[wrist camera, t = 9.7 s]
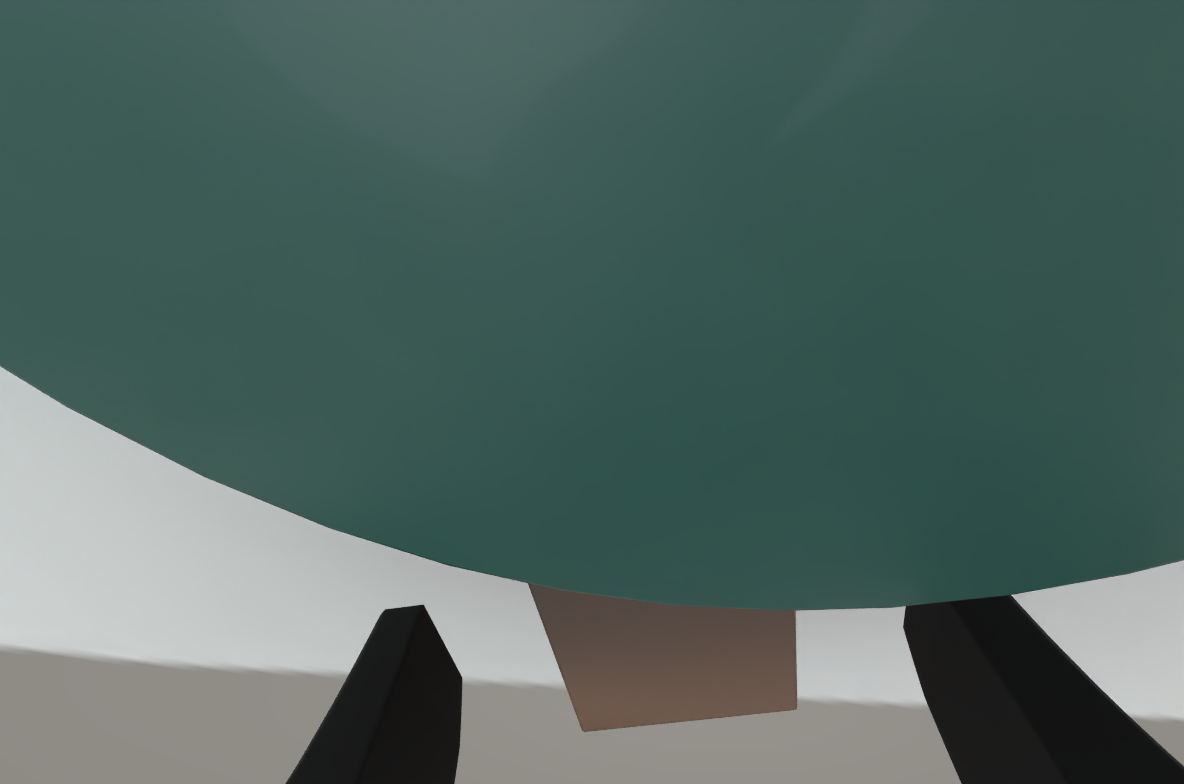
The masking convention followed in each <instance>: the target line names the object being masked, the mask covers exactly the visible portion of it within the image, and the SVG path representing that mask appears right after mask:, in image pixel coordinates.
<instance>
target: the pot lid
mask: <svg viewBox="0 0 1184 784" xmlns="http://www.w3.org/2000/svg"><path fill="white" fill-rule="evenodd" d="M0 366H1V367H2V368H4V369H6V370H7V371H9V372H11V373H12V374H14V375H15V376H17V377H19V378H20V379H22V380H24V381H25V382H27V383H29V384H30V385H32V386H33V387H35V388H37V389H38V390H40V391H42V392H43V393H45V394H47V395H48V396H50V397H51V398H53V399H55V400H56V401H58V402H60V403H61V404H63V405H65V406H66V407H68V408H70V409H72V410H74V411H76V412H78V413H80V414H82V415H84V416H86V417H88V418H90V419H92V420H94V421H96V422H98V423H100V424H102V425H103V426H105V427H107V428H109V429H111V430H113V431H115V432H117V433H119V434H121V435H123V436H125V437H127V438H129V439H131V440H133V441H135V442H137V443H139V444H141V445H143V446H145V447H147V448H149V449H151V450H153V451H155V452H157V453H159V454H161V455H162V456H164V457H166V458H168V459H170V460H172V461H174V462H176V463H178V464H180V465H182V466H184V467H186V468H188V469H190V470H192V471H194V472H196V473H198V474H200V475H202V476H204V477H206V478H209V479H211V480H213V481H216V482H218V483H221V484H223V485H226V486H228V487H231V488H233V489H235V490H238V491H240V492H243V493H245V494H248V495H250V496H253V497H255V498H257V499H260V500H262V501H265V502H267V503H270V504H272V505H274V506H277V507H279V508H282V509H284V510H287V511H289V512H292V513H294V514H296V515H299V516H301V517H304V518H306V519H309V520H311V521H314V522H316V523H318V524H321V525H323V526H326V527H328V528H331V529H334V530H337V531H340V532H344V533H347V534H350V535H353V536H356V537H360V538H363V539H366V540H369V541H372V542H375V543H379V544H382V545H385V546H388V547H391V548H395V549H398V550H401V551H404V552H407V553H411V554H414V555H417V556H420V557H423V558H426V559H430V560H433V561H436V562H439V563H442V564H446V565H449V566H454V567H458V568H463V569H467V570H472V571H476V572H481V573H485V574H490V575H494V576H499V577H503V578H508V579H512V580H517V581H521V582H526V583H530V584H535V585H539V586H544V587H548V588H553V589H557V590H562V591H570V592H577V593H585V594H592V595H599V596H607V597H614V598H622V599H629V600H636V601H644V602H651V603H659V604H666V605H678V606H698V607H717V608H737V609H756V610H775V611H789V610H824V609H859V608H892V607H902V606H911V605H921V604H931V603H940V602H950V601H959V600H969V599H978V598H988V597H997V596H1007V595H1013V594H1018V593H1024V592H1029V591H1035V590H1041V589H1046V588H1052V587H1057V586H1063V585H1069V584H1074V583H1080V582H1085V581H1091V580H1097V579H1102V578H1108V577H1114V576H1119V575H1125V574H1130V573H1134V572H1138V571H1142V570H1146V569H1150V568H1154V567H1158V566H1162V565H1166V564H1170V563H1174V562H1178V561H1182V560H1184V0H0Z"/></svg>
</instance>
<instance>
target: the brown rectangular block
mask: <svg viewBox="0 0 1184 784" xmlns="http://www.w3.org/2000/svg"><path fill="white" fill-rule="evenodd" d="M528 585H529V588H530V590H531V593H532V596H533V598H534V601H535V604H536V607H537V609H538V612H539V615H540V617H541V620H542V623H543V626H544V628H545V631H546V634H547V636H548V639H549V642H550V645H551V647H552V650H553V653H554V655H555V658H556V661H557V664H558V666H559V669H560V672H561V674H562V677H563V680H564V682H565V685H566V688H567V691H568V693H569V696H570V699H571V701H572V704H573V707H574V710H575V712H576V715H577V718H578V720H579V723H580V726H581V728H582V731H584V732H587V731H598V730H607V729H616V728H626V727H635V726H645V725H655V724H665V723H674V722H684V721H693V720H702V719H712V718H722V717H732V716H741V715H751V714H760V713H769V712H779V711H789V710H795V709H796V708H797V664H796V610H789V611H775V610H756V609H737V608H717V607H698V606H678V605H666V604H659V603H651V602H644V601H636V600H629V599H622V598H614V597H607V596H599V595H592V594H585V593H577V592H570V591H562V590H557V589H553V588H548V587H544V586H539V585H535V584H530V583H528Z"/></svg>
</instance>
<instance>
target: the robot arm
mask: <svg viewBox="0 0 1184 784" xmlns="http://www.w3.org/2000/svg"><path fill="white" fill-rule="evenodd" d="M903 628H904V631H905V635H906V638H907V641H908V645H909V648H910V651H911V655H912V658H913V661H914V665H915V668H916V671H917V674H918V677H919V681H920V684H921V687H922V690H923V693H924V696H925V699H926V701H927V704H928V706H929V709H930V711H931V713H932V715H933V718H934V720H935V723H936V725H937V728H938V730H939V732H940V735H941V737H942V739H943V742H944V744H945V746H946V749H947V751H948V753H949V756H950V758H951V760H952V763H953V765H954V767H955V770H956V772H957V774H958V776H959V779H960V781H961V783H962V784H1184V766H1183V765H1182V764H1180V763H1179V762H1178V761H1177V760H1176V759H1175V758H1174V757H1173V756H1171V754H1169V753H1168V752H1167V751H1166V750H1165V749H1164V748H1163V747H1162V746H1161V745H1160V744H1158V743H1157V742H1156V741H1155V740H1154V739H1153V738H1152V737H1151V736H1150V735H1149V734H1148V733H1147V732H1145V731H1144V730H1143V729H1142V728H1141V727H1140V726H1139V725H1138V724H1137V723H1136V722H1135V721H1134V720H1133V719H1132V718H1131V717H1129V716H1128V715H1127V714H1126V713H1125V712H1124V711H1123V710H1122V709H1121V708H1120V707H1119V706H1118V705H1117V704H1116V703H1115V702H1114V701H1113V700H1112V699H1111V698H1110V697H1109V696H1108V695H1107V694H1106V693H1104V692H1103V691H1102V690H1101V689H1100V688H1099V687H1098V686H1097V685H1096V684H1095V683H1094V682H1093V681H1092V680H1091V679H1090V678H1089V677H1088V676H1087V675H1086V674H1085V673H1084V671H1083V670H1082V669H1081V668H1080V667H1079V666H1078V665H1077V664H1076V663H1075V662H1074V661H1073V660H1072V659H1071V658H1070V657H1069V656H1068V655H1067V654H1066V653H1065V652H1064V651H1063V650H1062V649H1061V648H1060V647H1059V646H1058V645H1057V644H1056V643H1055V642H1054V641H1053V640H1052V639H1051V638H1050V637H1049V636H1048V635H1047V634H1046V633H1045V631H1044V630H1043V629H1042V628H1041V627H1040V626H1039V625H1038V624H1037V623H1036V622H1035V621H1034V620H1033V619H1032V618H1031V616H1030V615H1029V614H1028V613H1027V612H1026V611H1025V610H1024V609H1023V608H1022V607H1021V606H1020V604H1019V603H1018V602H1017V601H1016V600H1015V599H1014V598H1013V597H1012V596H1011V595H1007V596H997V597H988V598H978V599H969V600H959V601H950V602H940V603H931V604H921V605H911V606H906V609H905V617H904V625H903ZM461 706H462V676H461V674H460V673H459V671H458V669H457V667H456V665H455V663H454V661H453V659H452V657H451V656H450V654H449V652H448V650H447V648H446V646H445V644H444V642H443V640H442V639H441V637H440V635H439V633H438V631H437V629H436V627H435V625H434V624H433V622H432V620H431V618H430V616H429V614H428V612H427V610H426V608H425V607H424V605H417V606H409V607H401V608H393V609H385V610H384V611H383V613H382V614H381V615H380V617H379V619H378V621H377V623H376V625H375V626H374V628H373V630H372V632H371V634H370V636H369V638H368V640H367V642H366V643H365V645H364V647H363V649H362V651H361V653H360V655H359V657H358V659H357V660H356V662H355V664H354V666H353V668H352V670H351V672H350V673H349V675H348V677H347V679H346V681H345V683H344V684H343V686H342V688H341V690H340V692H339V694H338V695H337V697H336V699H335V701H334V703H333V704H332V706H331V708H330V710H329V711H328V713H327V715H326V717H325V718H324V720H323V722H322V723H321V725H320V727H319V729H318V730H317V732H316V734H315V736H314V737H313V739H312V741H311V743H310V744H309V746H308V748H307V750H306V751H305V753H304V755H303V756H302V758H301V760H300V761H299V763H298V765H297V767H296V768H295V770H294V771H293V773H292V774H291V776H290V778H289V779H288V781H287V782H286V784H454V782H455V776H456V769H457V762H458V755H459V748H460V730H461Z"/></svg>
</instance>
